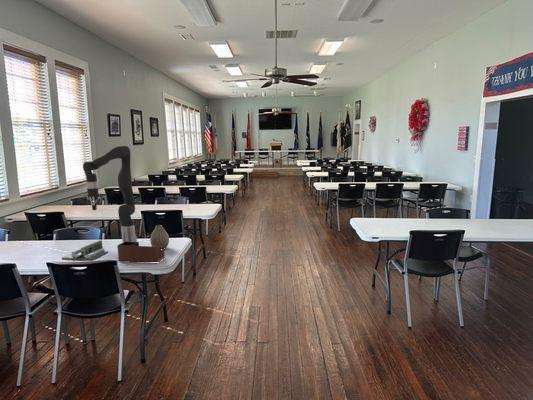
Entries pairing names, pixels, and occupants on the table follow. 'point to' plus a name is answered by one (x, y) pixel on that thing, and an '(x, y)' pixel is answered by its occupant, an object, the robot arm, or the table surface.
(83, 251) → the handheld radio
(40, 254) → the table surface
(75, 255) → the sliding jaw
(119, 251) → the desk organizer
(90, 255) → the vise bed
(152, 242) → the vase
